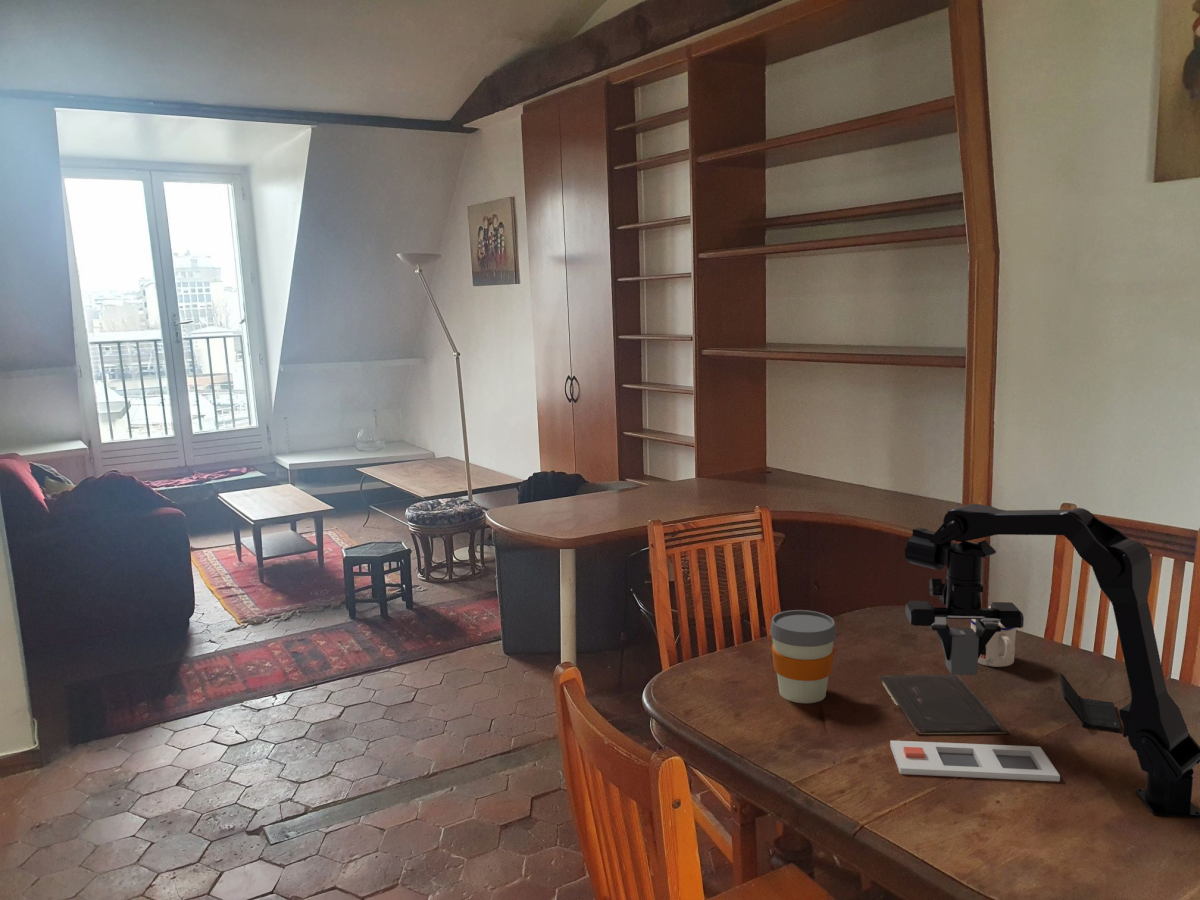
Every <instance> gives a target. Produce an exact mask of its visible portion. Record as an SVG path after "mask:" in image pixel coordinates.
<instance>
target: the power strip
mask: <svg viewBox="0 0 1200 900" xmlns="http://www.w3.org/2000/svg"><path fill="white" fill-rule="evenodd" d="M889 746H890V749H891V752H892V754H893V757H894V761H895V763H896V766H897V769H898V772H899V774H900V775H911V776H912V775H915V776H916V775H917V776H936V777H956V778H959V777H961V778H975V779H976V778H977V779H979V778H981V779H998V780H1016V781H1017V780H1018V781H1019V780H1021V781H1040V782H1058V783H1059V782H1060V781H1061V775H1060V773H1059V772H1058V770H1057V769H1056V767H1055V766H1054V765H1053V763H1052V761H1051V760H1050V758H1049V757H1048V756H1047V755H1046V753H1045V751H1044V750H1043V749H1042V748H1041V746H1030V745H1011V744H1009V745H1006V744H983V743H981V744H980V743H962V742H961V743H960V742H959V743H958V742H957V743H956V742H941V741H939V742H935V741H911V740H908V741H907V740H890V743H889ZM833 762H834V763H835V759H834V758H832V763H833Z"/></svg>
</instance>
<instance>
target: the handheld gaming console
mask: <svg viewBox="0 0 1200 900" xmlns="http://www.w3.org/2000/svg"><path fill="white" fill-rule="evenodd" d="M1059 681H1060V686H1061V692H1062V697H1063V699H1064V701H1066V703H1067V704H1068V707H1070V708H1071V710H1072V711H1073V713H1074V714H1075V715H1076V716H1077V718H1078V719H1079V720H1080V722H1081V727H1082V728H1088V729H1093V730H1100V731H1106V730H1108V732H1113V731H1114V732H1115V733H1121V732H1122V727H1121V725H1120V721H1119V717H1118V714H1117V711H1116V708H1115V705H1114V702H1113V701H1106V700H1099V699H1090V698H1083V697H1082V696H1081V695H1079V694H1078V693H1077V691H1076V690H1075V689H1074V687H1073V686H1072V685H1071V684H1070V683H1069V681H1068V680H1067V677H1065V675H1064V674H1063V673H1062V672H1061V673H1060V672H1059ZM1114 732H1113V733H1114Z"/></svg>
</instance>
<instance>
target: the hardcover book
mask: <svg viewBox="0 0 1200 900" xmlns="http://www.w3.org/2000/svg"><path fill="white" fill-rule="evenodd" d="M880 679H881V680H882V685H883V687H884V688H885V691H886V692H887V693H888V695H889V697H890V696H891V697H890V698H891V699H892V702H893V703H894V705H895V704H896V705H895V706H899V708H900V709H901V711H902V713H903V714H904V716H905V717H906V719H907V721H908V722H909V724H910V725H911V728H912V729H913V730H914V732H915V733H916V734H917V735H966V734H967V735H968V734H969V735H972V734H973V735H976V734H977V735H978V734H980V735H981V734H986V735H987V734H991V735H992V734H997V735H999V734H1008V735H1010V732H1009V731H1008V730H1007V729H1006V727H1005V726H1004V725H1003V724H1002V723H1001V721H1000V720H998V718H997V717H996V716H995V714H993V712H992V711H991V709H990V708H989V707H988V706H987V705H986V704H985V702H983V700H982V699H981V698H980V696H978V695H977V693H976V692H975V691H974V689H972V687H971V686H970V685H969V684H968V683H967V682H966V680H965V679H964V678H963V677H962V675H951V674H899V675H898V674H896V675H895V674H890V675H889V674H888V675H887V674H885V675H880Z"/></svg>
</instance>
